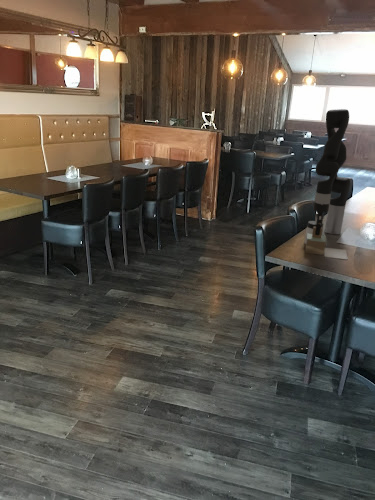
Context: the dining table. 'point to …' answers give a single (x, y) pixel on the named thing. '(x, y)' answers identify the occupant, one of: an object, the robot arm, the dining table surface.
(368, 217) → the dining table surface
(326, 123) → the robot arm
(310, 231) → the jar
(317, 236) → the lid
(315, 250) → the box
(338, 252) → the mat
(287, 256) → the dining table surface
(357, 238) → the dining table surface
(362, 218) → the dining table surface
